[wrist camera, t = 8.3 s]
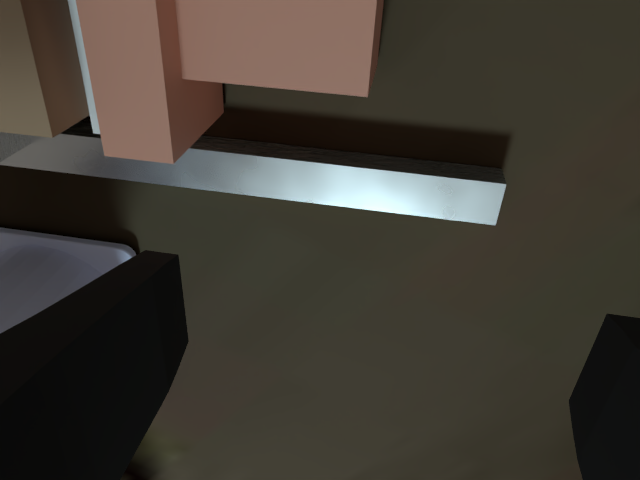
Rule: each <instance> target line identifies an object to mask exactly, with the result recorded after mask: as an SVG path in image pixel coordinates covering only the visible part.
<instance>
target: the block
mask: <svg viewBox="0 0 640 480" xmlns="http://www.w3.org/2000/svg"><path fill="white" fill-rule="evenodd" d="M89 115H90V114H89V109H88V104H87V98H86V93H85V88H84V83H83V78H82V72H81V67H80V62H79V57H78V52H77V46H76V41H75V36H74V31H73V26H72V21H71V15H70V10H69V5H68V0H0V132H5V133H14V134H23V135H31V136H40V137H49V138H53V137H55V136H57V135H58V134H60V133H62V132H63V131H65V130H66V129H68V128H70V127H71V126H73V125H74V124H76V123H78V122H79V121H81V120H82V119H84V118H86V117H87V116H89Z"/></svg>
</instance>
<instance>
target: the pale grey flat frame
mask: <svg viewBox="0 0 640 480" xmlns="http://www.w3.org/2000/svg"><path fill="white" fill-rule="evenodd" d="M0 165H5V166H13V167H22V168H30V169H38V170H46V171H54V172H63V173H71V174H79V175H87V176H95V177H104V178H112V179H120V180H128V181H136V182H145V183H153V184H161V185H169V186H177V187H186V188H194V189H202V190H210V191H218V192H227V193H235V194H243V195H251V196H259V197H268V198H276V199H284V200H292V201H300V202H309V203H317V204H325V205H333V206H341V207H350V208H358V209H366V210H374V211H383V212H391V213H399V214H407V215H415V216H424V217H432V218H440V219H448V220H456V221H465V222H473V223H481V224H489V225H496V222H497V218H498V214H499V210H500V207H501V203H502V199H503V195H504V191H505V187H506V181H505V178H504V174H503V171H502V168H494V167H485V166H476V165H467V164H457V163H448V162H439V161H430V160H421V159H412V158H403V157H394V156H384V155H375V154H366V153H357V152H348V151H339V150H330V149H321V148H312V147H302V146H293V145H284V144H275V143H266V142H257V141H248V140H239V139H229V138H220V137H211V136H202V135H201V136H200V137H199V139H198V140H197V141H196V142H195V143H194V144H193V145H192V146H191V147H190V148H189V149H188V150H187V151H186V152H185V153H184V154H183V155H182V156H181V157H180V158H179V159H178V160H177V161H176V162H175V163H174V164H169V163H160V162H152V161H143V160H135V159H126V158H118V157H109V156H104V151H103V145H102V140H101V135H100V134H95V133H93V129H92V124H91V123H84V122H78V123H76V124H74V125H73V126H71V127H70V128H68V129H66V130H65V131H63V132H62V133H60V134H58V135H57V136H55V137H53V138H49V137H40V136H31V135H23V134H14V133H5V132H0Z"/></svg>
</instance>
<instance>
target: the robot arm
mask: <svg viewBox="0 0 640 480" xmlns="http://www.w3.org/2000/svg"><path fill="white" fill-rule="evenodd" d="M187 344H188V333H187V325H186V316H185V308H184V299H183V291H182V282H181V274H180V265H179V257H178V255H176V254H169V253H161V252H154V251H147V250H145V251H143V252H142V253H140V254H138V255H136V253H135V251H134V250H133V249H132V248H131V247H129V246H127V245H124V244H118V243H111V242H103V241H96V240H89V239H81V238H74V237H67V236H59V235H52V234H45V233H37V232H30V231H23V230H16V229H8V228H1V227H0V480H120V479H121V477H122V475H123V473H124V471H125V470H126V468H127V466H128V464H129V462H130V461H131V459H132V457H133V455H134V454H135V452H136V450H137V448H138V446H139V445H140V443H141V441H142V439H143V437H144V436H145V434H146V432H147V430H148V428H149V427H150V425H151V423H152V421H153V419H154V417H155V416H156V414H157V412H158V410H159V408H160V407H161V405H162V403H163V401H164V399H165V397H166V395H167V393H168V392H169V389H170V387H171V384H172V382H173V380H174V377H175V375H176V372H177V370H178V367H179V365H180V362H181V360H182V357H183V354H184V352H185V349H186V346H187ZM569 406H570V414H571V421H572V428H573V435H574V441H575V447H576V453H577V459H578V463H579V467H580V471H581V474H582V478H583V480H640V318H634V317H627V316H620V315H613V314H607V315H606V317H605V319H604V322H603V324H602V326H601V328H600V331H599V333H598V335H597V338H596V340H595V342H594V344H593V347H592V349H591V351H590V354H589V356H588V358H587V360H586V363H585V365H584V367H583V370H582V372H581V374H580V376H579V379H578V381H577V383H576V386H575V388H574V390H573V392H572V395H571V397H570V399H569Z"/></svg>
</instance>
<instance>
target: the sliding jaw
mask: <svg viewBox="0 0 640 480" xmlns="http://www.w3.org/2000/svg"><path fill="white" fill-rule="evenodd" d="M383 4H384V0H68V5H69V10H70V15H71V21H72V26H73V31H74V36H75V41H76V46H77V52H78V57H79V62H80V67H81V72H82V78H83V83H84V88H85V93H86V98H87V104H88V109H89V114H90V119H91V124H92V129H93V133H95V134H100V135H101V140H102V145H103V151H104V156H109V157H118V158H126V159H135V160H143V161H152V162H160V163H169V164H174V163H175V162H176V161H177V160H178V159H179V158H180V157H181V156H182V155H183V154H184V153H185V152H186V151H187V150H188V149H189V148H190V147H191V146H192V145H193V144H194V143H195V142H196V141H197V140H198V139H199V137H200V136H201V135H202V134H203V133H204V132H205V131H206V130H207V129H208V128H209V127H210V126H211V125H212V124H213V123H214V122H215V121H216V120H217V119H218V118H219V117H220V116H221V115H222V114H223V113H224V106H223V87H222V83H229V84H239V85H249V86H259V87H270V88H280V89H290V90H301V91H311V92H321V93H331V94H342V95H352V96H362V97H368V94H369V91H370V88H371V84H372V81H373V78H374V75H375V71H376V68H377V63H378V53H379V43H380V33H381V24H382V14H383Z"/></svg>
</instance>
